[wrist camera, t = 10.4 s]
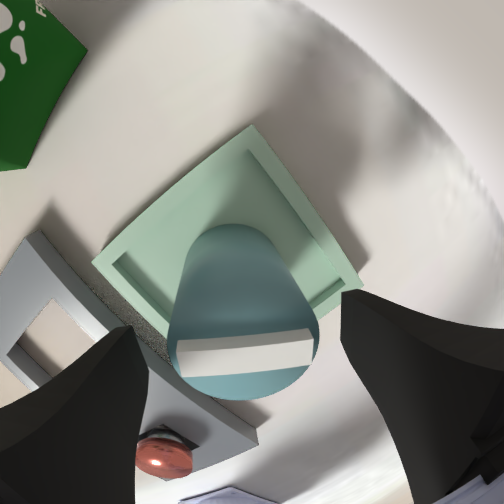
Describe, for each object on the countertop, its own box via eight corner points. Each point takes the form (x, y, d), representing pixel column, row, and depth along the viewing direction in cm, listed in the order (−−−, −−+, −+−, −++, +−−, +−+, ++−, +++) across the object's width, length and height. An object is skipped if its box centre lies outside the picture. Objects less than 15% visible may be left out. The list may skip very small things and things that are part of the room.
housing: (255, 429, 20) (258, 445, 18) (167, 467, 21) (166, 481, 20) (39, 229, 14) (25, 237, 12) (-18, 317, 15) (-29, 328, 13)
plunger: (204, 433, 19) (204, 469, 16) (168, 449, 20) (166, 482, 16) (164, 406, 18) (159, 444, 15) (130, 425, 18) (122, 459, 15)
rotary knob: (279, 220, 14) (331, 278, 8) (280, 308, 16) (318, 401, 9) (178, 227, 14) (149, 294, 7) (190, 315, 16) (180, 416, 9)
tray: (355, 276, 17) (364, 285, 15) (219, 371, 18) (219, 384, 17) (249, 126, 13) (252, 123, 12) (99, 254, 14) (91, 262, 13)
